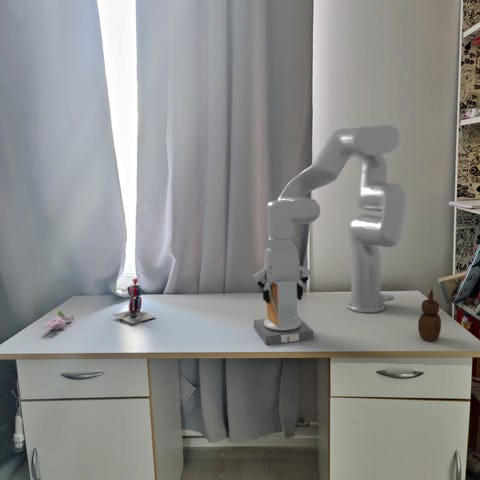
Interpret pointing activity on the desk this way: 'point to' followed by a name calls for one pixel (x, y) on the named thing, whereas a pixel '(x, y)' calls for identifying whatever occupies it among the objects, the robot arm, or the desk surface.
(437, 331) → the wooden figurine
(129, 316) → the statue
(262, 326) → the scale
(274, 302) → the small box
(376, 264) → the robot arm
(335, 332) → the desk surface
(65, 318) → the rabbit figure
